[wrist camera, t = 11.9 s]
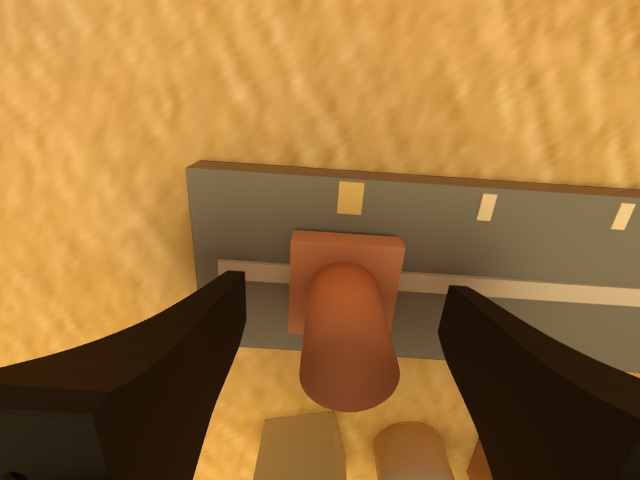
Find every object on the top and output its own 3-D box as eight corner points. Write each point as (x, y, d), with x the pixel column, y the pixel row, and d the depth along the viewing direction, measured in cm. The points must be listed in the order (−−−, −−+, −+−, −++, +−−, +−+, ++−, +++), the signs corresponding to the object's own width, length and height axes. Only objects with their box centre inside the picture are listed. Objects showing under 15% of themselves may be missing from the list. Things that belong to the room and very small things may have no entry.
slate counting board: (795, 200, 13) (856, 213, 12) (694, 355, 16) (732, 382, 15) (200, 160, 13) (183, 168, 12) (213, 323, 16) (201, 347, 15)
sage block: (333, 410, 19) (334, 498, 15) (345, 456, 20) (350, 548, 16) (265, 418, 19) (247, 506, 15) (282, 463, 21) (270, 555, 17)
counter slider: (399, 236, 12) (442, 318, 8) (384, 323, 14) (412, 433, 9) (293, 229, 12) (273, 306, 8) (290, 317, 14) (272, 425, 9)
